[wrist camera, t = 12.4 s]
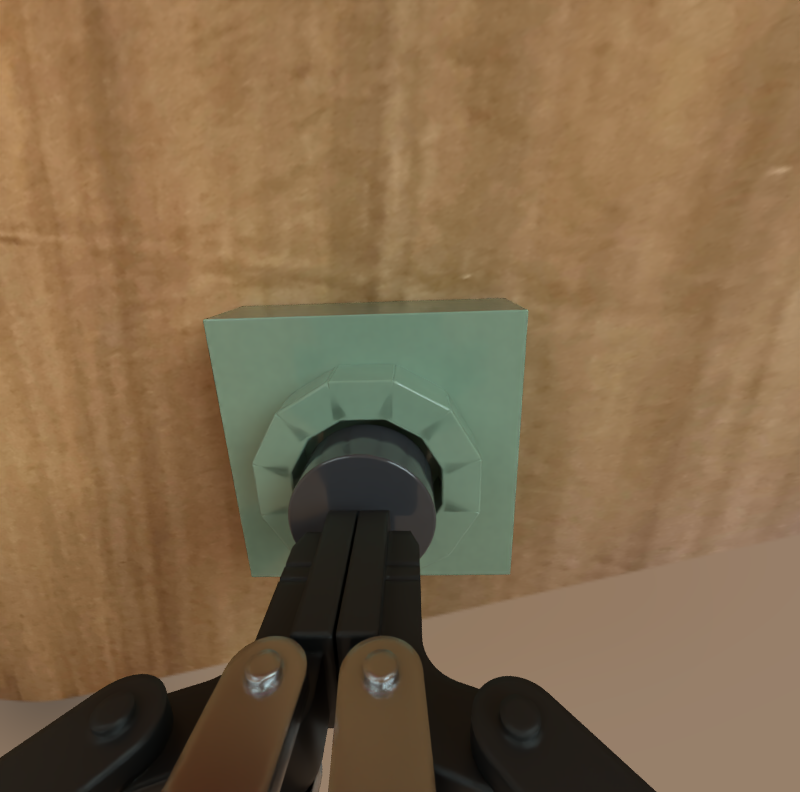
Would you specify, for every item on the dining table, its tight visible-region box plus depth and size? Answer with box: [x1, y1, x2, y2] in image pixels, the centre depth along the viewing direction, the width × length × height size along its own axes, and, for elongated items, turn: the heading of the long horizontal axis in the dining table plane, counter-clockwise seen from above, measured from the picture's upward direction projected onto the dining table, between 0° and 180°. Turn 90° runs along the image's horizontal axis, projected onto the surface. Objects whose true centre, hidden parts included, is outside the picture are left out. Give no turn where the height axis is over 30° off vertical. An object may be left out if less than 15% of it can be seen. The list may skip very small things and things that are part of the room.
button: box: [288, 424, 436, 558], centre depth 12 cm, size 4×4×2 cm
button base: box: [203, 298, 528, 577], centre depth 15 cm, size 10×10×5 cm
